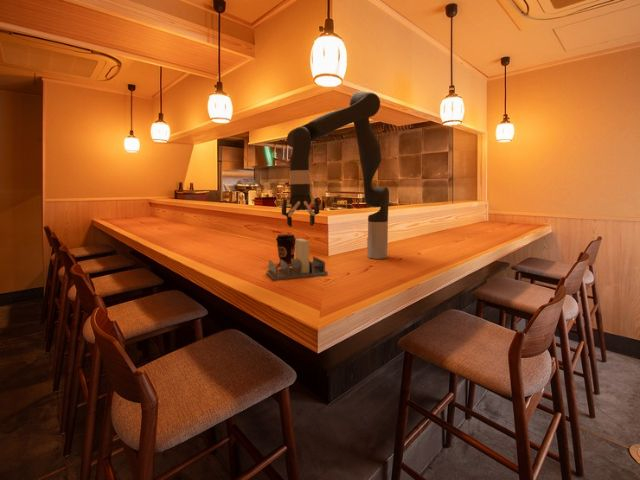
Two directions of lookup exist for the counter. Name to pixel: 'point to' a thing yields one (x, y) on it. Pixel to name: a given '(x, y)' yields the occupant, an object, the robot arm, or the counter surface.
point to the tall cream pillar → (302, 253)
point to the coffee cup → (286, 247)
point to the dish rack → (296, 269)
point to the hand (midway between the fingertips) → (301, 226)
